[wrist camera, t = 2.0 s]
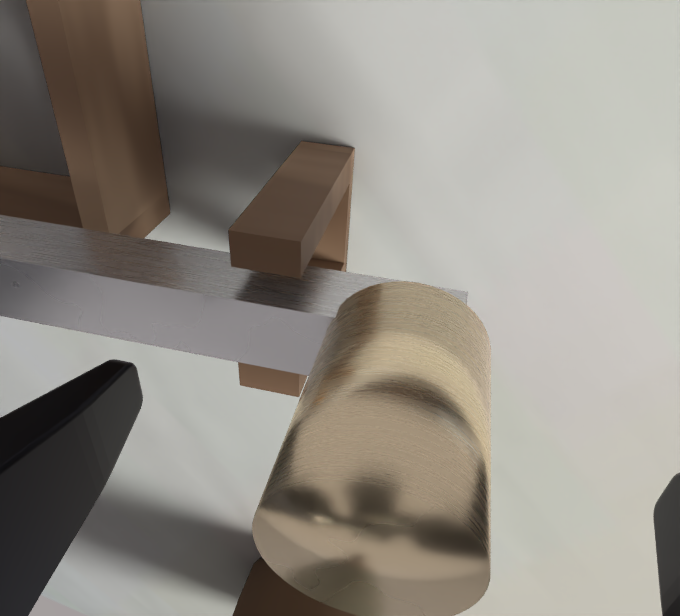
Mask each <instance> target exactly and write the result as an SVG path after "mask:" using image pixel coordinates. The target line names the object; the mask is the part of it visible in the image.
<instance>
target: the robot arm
mask: <svg viewBox="0 0 680 616" xmlns="http://www.w3.org/2000/svg"><path fill="white" fill-rule="evenodd" d="M142 401H143V395H142V390H141V386H140V381H139V377H138V372H137V368H136V366H135V365H134V364H133V363H130V362H125V361H120V360H109V361H107V362H105V363H103V364H101V365H99V366H97V367H95V368H93V369H91V370H90V371H88V372H86V373H84V374H82V375H80V376H78V377H76V378H74V379H73V380H71V381H69V382H67V383H65V384H63V385H61V386H59V387H57V388H56V389H54V390H52V391H50V392H48V393H46V394H44V395H42V396H40V397H39V398H37V399H35V400H33V401H31V402H29V403H27V404H25V405H24V406H22V407H20V408H18V409H16V410H14V411H12V412H10V413H8V414H7V415H5V416H3V417H1V418H0V616H28V615H29V613H30V611H31V610H32V608H33V606H34V605H35V603H36V601H37V600H38V598H39V596H40V595H41V593H42V591H43V590H44V588H45V586H46V585H47V583H48V581H49V580H50V578H51V576H52V574H53V573H54V571H55V569H56V568H57V566H58V564H59V563H60V561H61V559H62V558H63V556H64V554H65V553H66V551H67V549H68V548H69V546H70V544H71V542H72V541H73V539H74V537H75V536H76V534H77V532H78V531H79V529H80V527H81V526H82V524H83V522H84V521H85V519H86V517H87V516H88V514H89V512H90V510H91V509H92V507H93V505H94V504H95V502H96V500H97V499H98V497H99V495H100V493H101V492H102V490H103V488H104V486H105V485H106V483H107V481H108V479H109V477H110V475H111V472H112V470H113V468H114V466H115V464H116V462H117V459H118V457H119V455H120V453H121V451H122V449H123V446H124V444H125V442H126V440H127V438H128V435H129V433H130V431H131V429H132V427H133V424H134V422H135V420H136V418H137V416H138V414H139V411H140V409H141V406H142ZM654 529H655V540H656V552H657V563H658V575H659V586H660V598H661V606H662V615H663V616H680V473H678V474H676V475H675V476H674V477H673V478H672V480H671V481H670V483H669V484H668V486H667V487H666V489H665V490H664V492H663V493H662V495H661V496H660V498H659V499H658V501H657V503H656V505H655V508H654Z"/></svg>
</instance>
